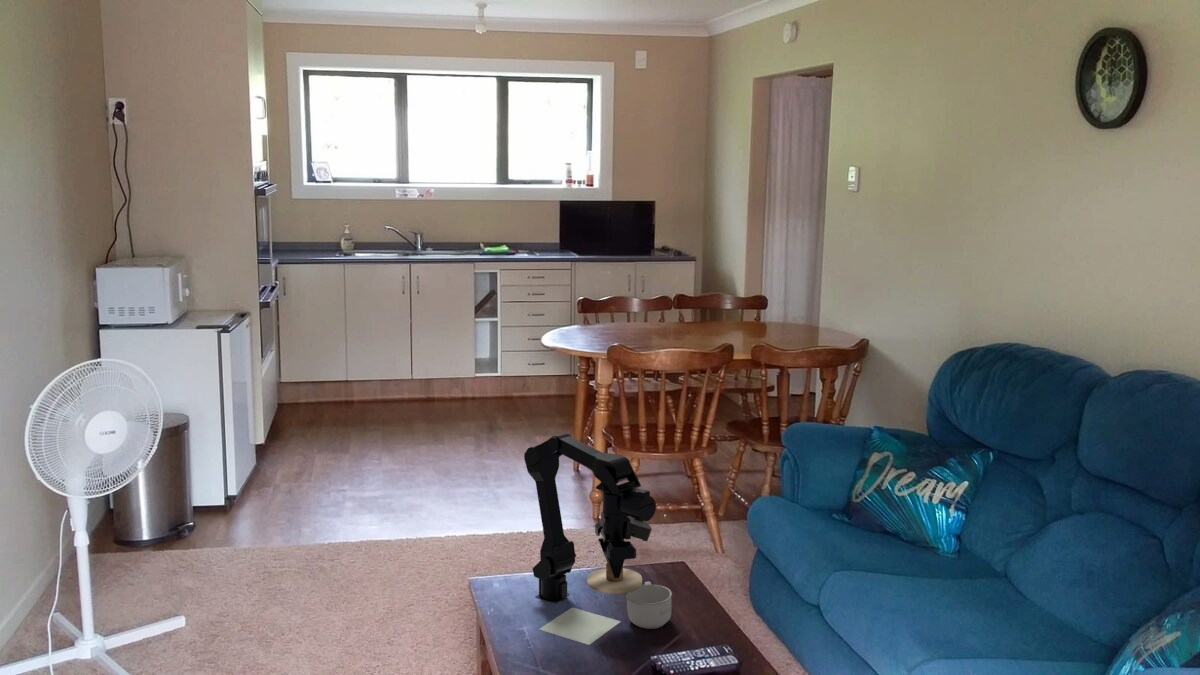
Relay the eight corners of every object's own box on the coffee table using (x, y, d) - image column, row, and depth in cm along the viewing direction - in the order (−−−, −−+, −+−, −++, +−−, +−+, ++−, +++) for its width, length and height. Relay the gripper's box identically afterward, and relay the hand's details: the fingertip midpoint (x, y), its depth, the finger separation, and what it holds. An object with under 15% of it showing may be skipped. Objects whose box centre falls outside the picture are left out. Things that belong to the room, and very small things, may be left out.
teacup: (668, 636, 227) (668, 604, 226) (622, 632, 229) (622, 599, 228) (675, 610, 241) (676, 580, 240) (632, 606, 243) (632, 576, 242)
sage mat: (538, 631, 229) (538, 629, 229) (572, 609, 241) (572, 607, 241) (589, 647, 222) (589, 644, 222) (620, 623, 234) (620, 621, 233)
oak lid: (576, 585, 229) (576, 567, 229) (606, 567, 240) (606, 550, 239) (623, 598, 222) (623, 579, 221) (652, 579, 233) (652, 561, 232)
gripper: (658, 521, 221) (657, 587, 223) (639, 496, 239) (639, 557, 241) (610, 525, 219) (610, 591, 221) (594, 499, 237) (594, 560, 239)
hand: (614, 574), depth 231 cm, fingers closed on oak lid, 4 cm apart
